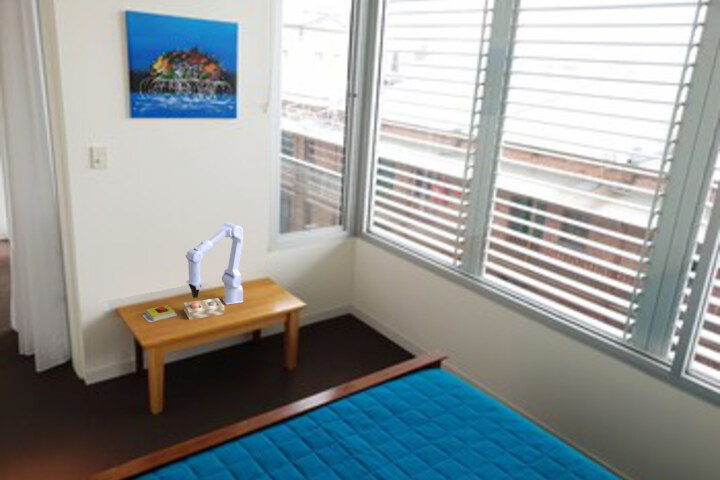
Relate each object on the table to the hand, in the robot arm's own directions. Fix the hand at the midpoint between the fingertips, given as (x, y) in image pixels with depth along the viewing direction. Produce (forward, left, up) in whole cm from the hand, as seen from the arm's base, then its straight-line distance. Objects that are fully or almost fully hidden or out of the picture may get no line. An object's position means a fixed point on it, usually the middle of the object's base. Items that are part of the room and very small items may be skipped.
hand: (195, 297), depth 289 cm
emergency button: (+17, -4, -10) cm, 20 cm away
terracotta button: (0, 0, -7) cm, 7 cm away
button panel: (-4, 0, -9) cm, 10 cm away
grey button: (-9, 0, -9) cm, 12 cm away
